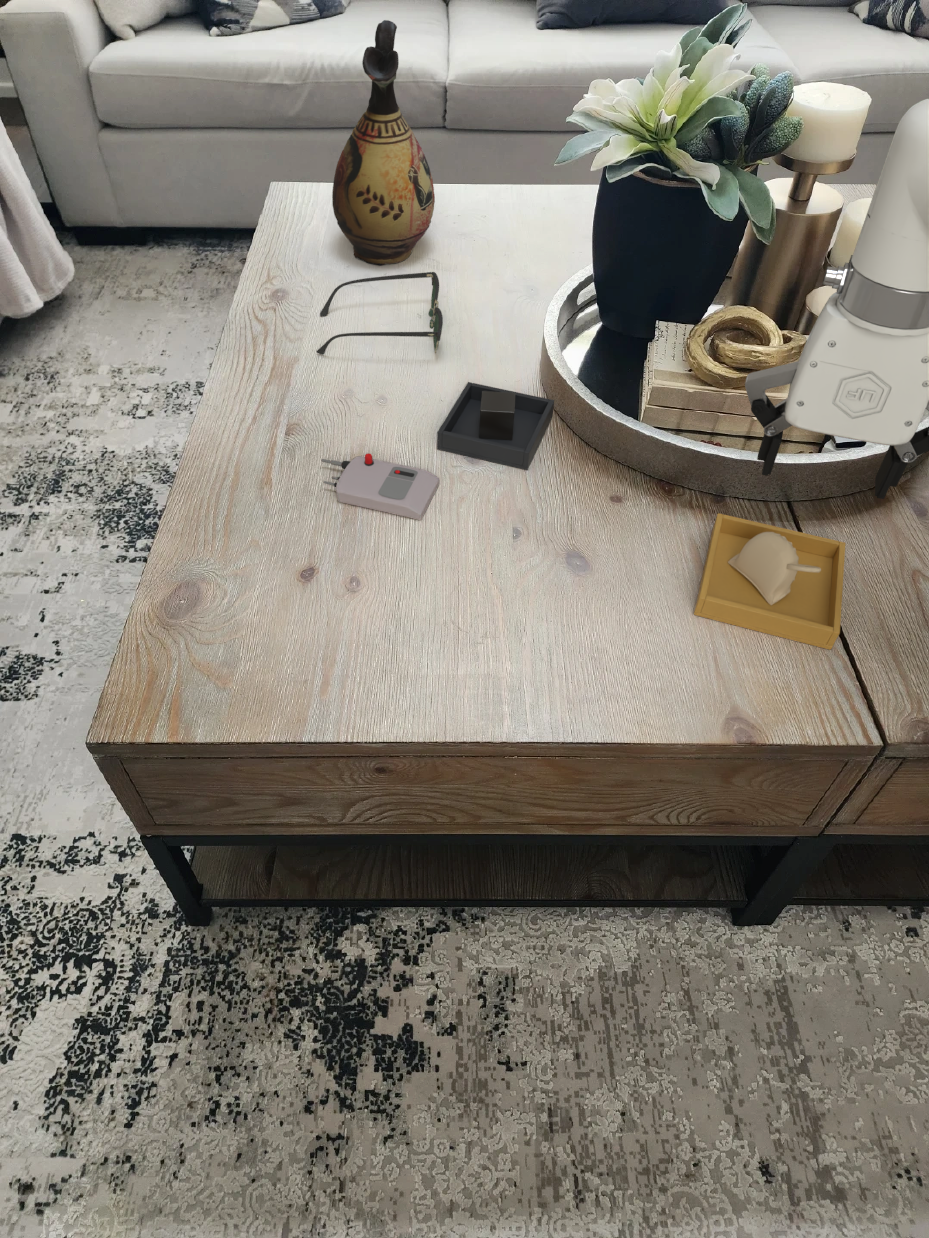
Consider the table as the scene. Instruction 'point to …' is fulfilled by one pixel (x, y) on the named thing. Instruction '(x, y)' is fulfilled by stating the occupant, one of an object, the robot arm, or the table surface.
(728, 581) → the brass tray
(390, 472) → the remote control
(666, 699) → the table surface
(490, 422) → the black block
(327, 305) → the sunglasses
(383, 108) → the ceramic jug
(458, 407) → the charcoal tray
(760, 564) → the decorative ornament
